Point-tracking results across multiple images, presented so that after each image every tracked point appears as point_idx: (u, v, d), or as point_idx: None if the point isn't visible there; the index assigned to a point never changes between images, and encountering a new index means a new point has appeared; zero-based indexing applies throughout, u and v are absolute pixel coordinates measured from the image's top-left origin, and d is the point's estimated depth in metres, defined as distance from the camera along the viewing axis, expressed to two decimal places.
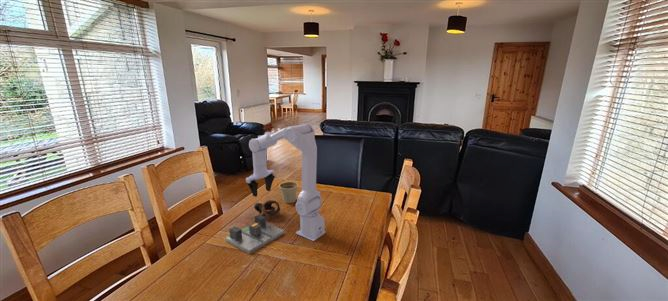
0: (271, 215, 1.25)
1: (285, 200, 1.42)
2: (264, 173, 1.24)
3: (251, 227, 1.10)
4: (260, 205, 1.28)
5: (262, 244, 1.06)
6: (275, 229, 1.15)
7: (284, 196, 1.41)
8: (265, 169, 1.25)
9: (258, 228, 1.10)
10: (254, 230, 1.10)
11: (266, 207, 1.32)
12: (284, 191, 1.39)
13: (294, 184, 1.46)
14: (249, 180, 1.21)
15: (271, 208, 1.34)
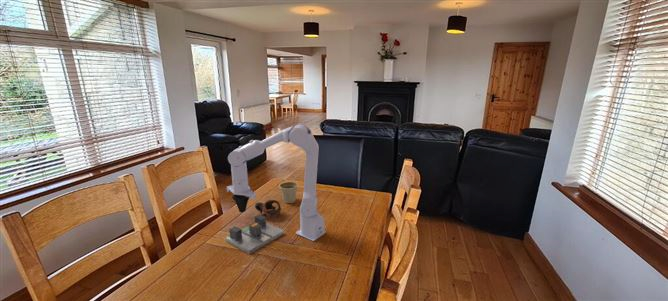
0: (272, 214, 1.25)
1: (285, 200, 1.42)
2: (234, 190, 1.09)
3: (251, 227, 1.10)
4: (261, 204, 1.28)
5: (262, 244, 1.06)
6: (275, 229, 1.15)
7: (284, 196, 1.41)
8: (235, 186, 1.08)
9: (258, 228, 1.10)
10: (254, 230, 1.10)
11: (267, 206, 1.33)
12: (284, 191, 1.39)
13: (294, 184, 1.46)
14: (227, 188, 1.14)
15: (272, 207, 1.34)
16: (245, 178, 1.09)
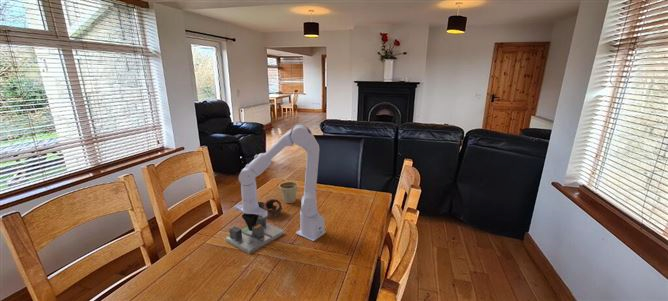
0: (273, 214, 1.26)
1: (285, 200, 1.42)
2: (245, 209, 1.08)
3: (254, 228, 1.09)
4: (262, 204, 1.29)
5: (262, 244, 1.06)
6: (275, 229, 1.15)
7: (284, 196, 1.41)
8: (246, 205, 1.07)
9: (261, 229, 1.09)
10: (257, 231, 1.09)
11: (268, 206, 1.33)
12: (284, 191, 1.39)
13: (294, 184, 1.46)
14: (235, 207, 1.12)
15: (272, 207, 1.35)
16: (255, 196, 1.08)
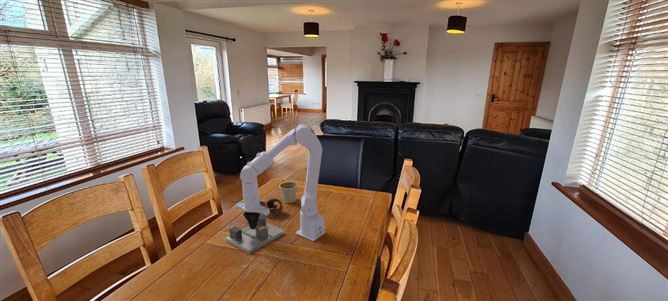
0: (274, 213, 1.27)
1: (285, 200, 1.42)
2: (246, 207, 1.07)
3: (258, 230, 1.08)
4: (263, 203, 1.29)
5: (262, 244, 1.06)
6: (275, 229, 1.15)
7: (284, 196, 1.41)
8: (248, 203, 1.06)
9: (265, 231, 1.08)
10: (261, 233, 1.07)
11: (268, 205, 1.34)
12: (284, 191, 1.39)
13: (294, 184, 1.46)
14: (236, 206, 1.11)
15: (273, 206, 1.35)
16: (257, 194, 1.07)
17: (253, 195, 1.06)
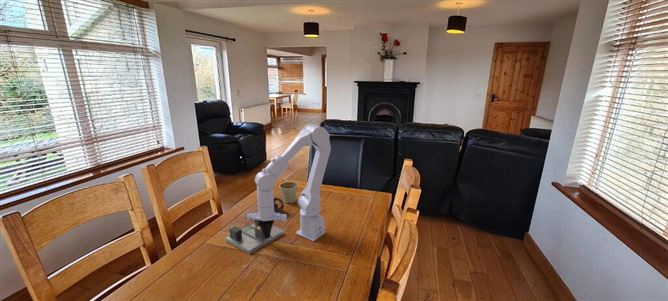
0: (275, 212, 1.28)
1: (285, 200, 1.42)
2: (263, 216, 1.02)
3: (257, 230, 1.08)
4: None
5: (262, 244, 1.06)
6: (275, 229, 1.15)
7: (284, 196, 1.41)
8: (265, 212, 1.02)
9: None
10: (260, 233, 1.08)
11: None
12: (284, 191, 1.39)
13: (294, 184, 1.46)
14: (247, 217, 1.05)
15: (274, 205, 1.36)
16: (273, 201, 1.04)
17: (271, 202, 1.02)
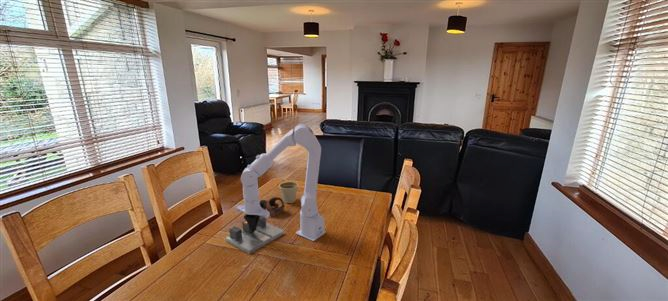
0: (276, 211, 1.28)
1: (285, 200, 1.42)
2: (247, 210, 1.07)
3: (244, 224, 1.13)
4: (265, 202, 1.31)
5: (262, 244, 1.06)
6: (275, 229, 1.15)
7: (284, 196, 1.41)
8: (248, 206, 1.06)
9: None
10: (247, 227, 1.12)
11: (270, 204, 1.35)
12: (284, 191, 1.39)
13: (294, 184, 1.46)
14: (236, 208, 1.11)
15: (275, 205, 1.37)
16: (257, 197, 1.08)
17: (253, 198, 1.06)
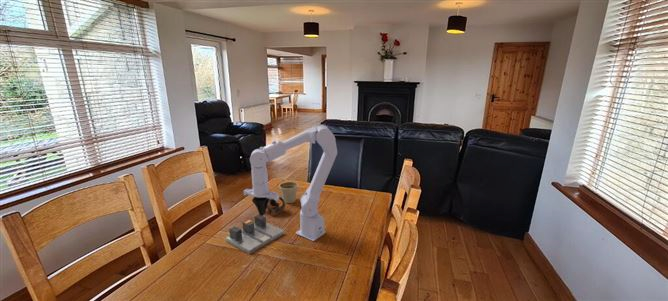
0: (277, 211, 1.29)
1: (285, 200, 1.42)
2: (256, 192, 1.05)
3: (244, 224, 1.13)
4: None
5: (262, 244, 1.06)
6: (275, 229, 1.15)
7: (284, 196, 1.41)
8: (257, 188, 1.04)
9: (251, 225, 1.12)
10: (247, 227, 1.12)
11: (271, 203, 1.36)
12: (284, 191, 1.39)
13: (294, 184, 1.46)
14: (244, 192, 1.09)
15: (275, 204, 1.38)
16: (266, 179, 1.06)
17: (263, 180, 1.04)
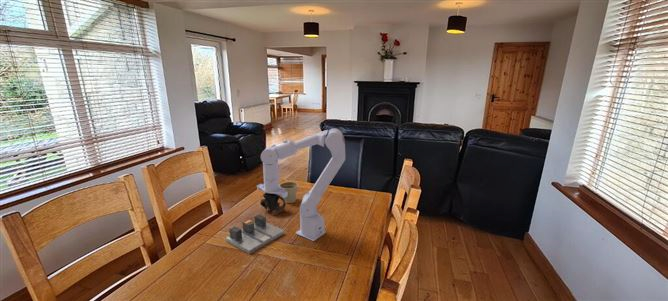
0: (278, 210, 1.29)
1: (285, 200, 1.42)
2: (266, 188, 1.09)
3: (244, 224, 1.13)
4: (266, 201, 1.32)
5: (262, 244, 1.06)
6: (275, 229, 1.15)
7: None
8: (267, 184, 1.08)
9: (251, 225, 1.12)
10: (247, 227, 1.12)
11: None
12: None
13: (294, 184, 1.46)
14: (257, 187, 1.14)
15: None
16: (277, 176, 1.09)
17: (273, 176, 1.07)
